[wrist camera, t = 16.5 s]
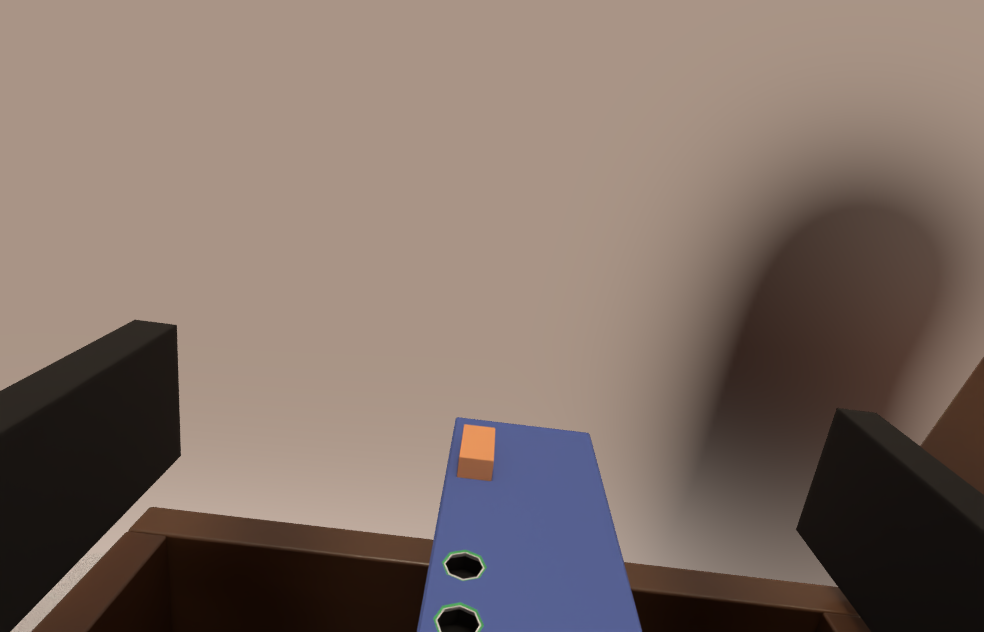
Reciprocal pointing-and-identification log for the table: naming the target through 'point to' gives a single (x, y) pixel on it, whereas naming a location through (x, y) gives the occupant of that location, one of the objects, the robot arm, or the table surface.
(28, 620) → the table surface
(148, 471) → the robot arm
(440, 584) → the walkman
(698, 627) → the chest
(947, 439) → the chest lid
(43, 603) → the table surface
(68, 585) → the table surface
